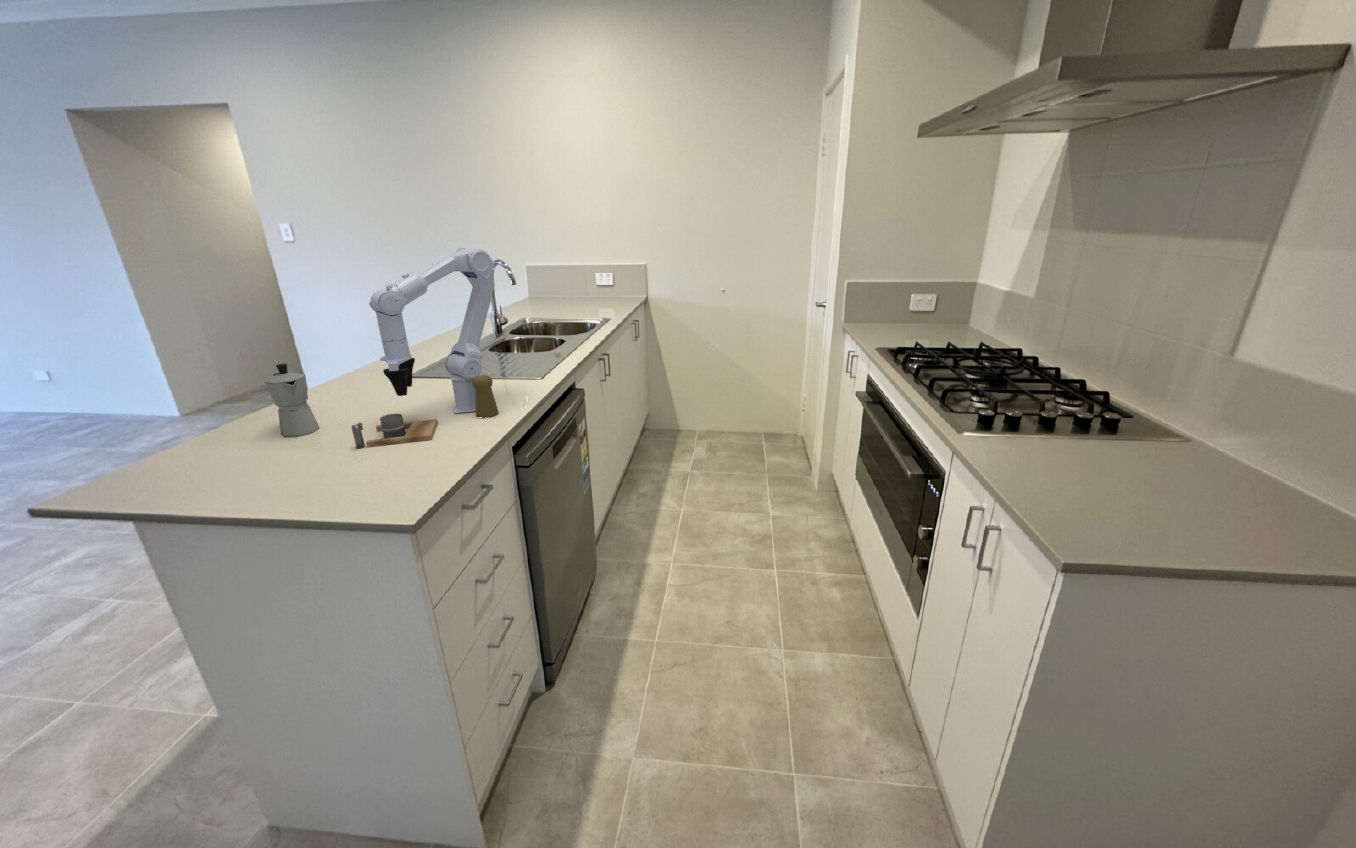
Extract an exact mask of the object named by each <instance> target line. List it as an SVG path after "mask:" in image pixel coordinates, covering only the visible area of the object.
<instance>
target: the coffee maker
mask: <svg viewBox="0 0 1356 848" xmlns="http://www.w3.org/2000/svg"><path fill="white" fill-rule="evenodd" d="M275 367H276V368H277V371H278V372H277V373H273V376H269V377H268V378H266V379H265V381H264V385H265V387H266V389H267V391H268V393H269V394H270V397H271V400H272V401H273V403H274V406H276V407H278V410H277V412H278V422H279V423H278V424H279V430H280V432H279V433H280V435H281V436H282V437H283V438H285V439H286V438H299V437H303V436H308V435H311V434H314V433H315V432H317V431H319V430H320V429H321V428H320V426H319V423H318V421H317V419H316V417H315V415H314V413H313V411H312V409H311V407H310V405H309V404H308V400H309V394H308V388H307V386H308V385H307V378H306V374H305V373H297V372H288V364H287V363H278V364H276V365H275Z"/></svg>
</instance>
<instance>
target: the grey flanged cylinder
mask: <svg viewBox="0 0 1356 848" xmlns="http://www.w3.org/2000/svg"><path fill="white" fill-rule="evenodd" d="M379 421H380V425H381V426H382V427H381V428H382V430H383V431H382V435H383V439H384V438H393V437H402V436H406V435H405V434H407V432H406V428H405V425H404V422H405V421H404V417H403V415H402V414H401V413H390V414H385V415H382V416H381V417H379Z"/></svg>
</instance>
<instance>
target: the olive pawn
mask: <svg viewBox="0 0 1356 848" xmlns="http://www.w3.org/2000/svg"><path fill="white" fill-rule="evenodd" d="M493 383H494V382H493V378H492V377H491V376H490V375H488V374H487V375H486V374H481V375H479V376H476V377H474V378H473V380H472V384H473V387H474V388H475V389H476V411H475V417H476V418H478V417H482V418H481V419H486V418H485V417H490V418H494V417H496V416H498V415H499V409H498V406H497V401H496V399H495V396H494V392H493V389H492V386H493Z"/></svg>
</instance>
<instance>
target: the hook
mask: <svg viewBox="0 0 1356 848" xmlns="http://www.w3.org/2000/svg"><path fill="white" fill-rule="evenodd" d="M351 430H352V435H353V439H354V442H355V447H356V449H357V450H358V449H359V450H360V449H364V448H365V447H366V444H365V440H364V437H363V436H364V435H363V433H362V430H364V428H363V422H358V423H357V424H353V425H351Z"/></svg>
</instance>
